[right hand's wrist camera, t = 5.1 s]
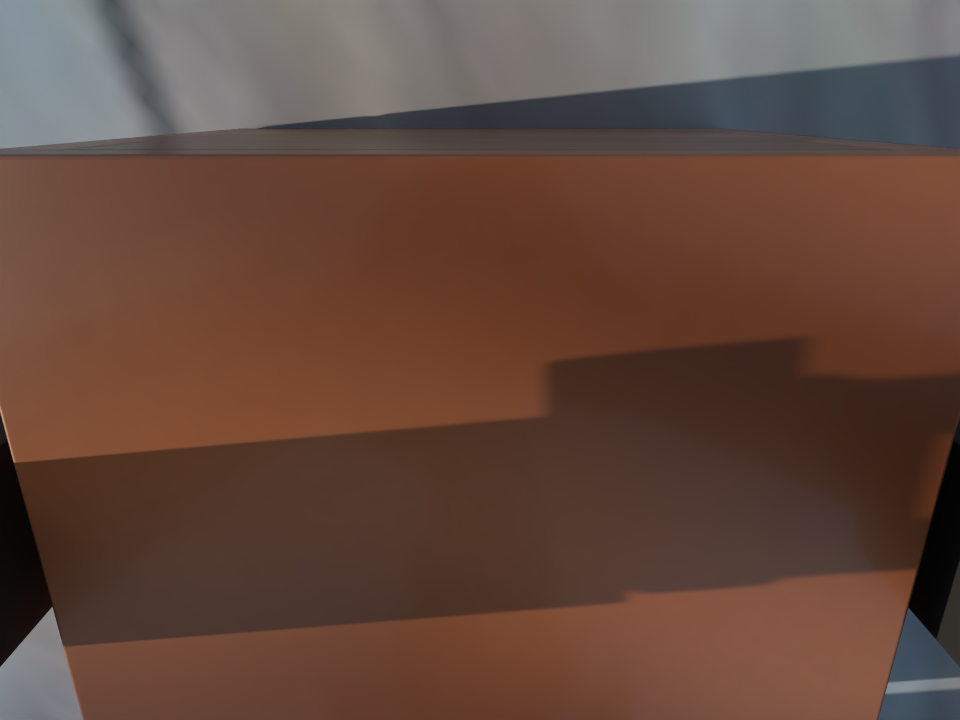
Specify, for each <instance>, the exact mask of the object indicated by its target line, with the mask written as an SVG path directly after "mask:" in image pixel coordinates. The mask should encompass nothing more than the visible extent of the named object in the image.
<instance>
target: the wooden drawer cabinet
mask: <svg viewBox="0 0 960 720" xmlns="http://www.w3.org/2000/svg"><path fill="white" fill-rule="evenodd" d="M0 413H1V417H2V421H3V424H4V428H5V432H6V436H7V439H8V443H9V447H10V450H11V454H12V458H13V461H14V465H15V469H16V473H17V476H18V480H19V484H20V487H21V491H22V495H23V499H24V502H25V506H26V510H27V513H28V517H29V521H30V525H31V528H32V532H33V536H34V539H35V543H36V547H37V551H38V554H39V558H40V562H41V565H42V569H43V573H44V577H45V580H46V584H47V588H48V591H49V595H50V599H51V602H52V606H53V610H54V614H55V617H56V621H57V625H58V628H59V632H60V636H61V640H62V643H63V647H64V651H65V654H66V658H67V662H68V666H69V669H70V673H71V677H72V680H73V684H74V688H75V692H76V695H77V699H78V703H79V706H80V710H81V714H82V718H83V720H878V718H879V714H880V710H881V707H882V703H883V699H884V695H885V692H886V688H887V684H888V681H889V677H890V673H891V669H892V666H893V662H894V658H895V655H896V651H897V647H898V644H899V640H900V636H901V632H902V629H903V625H904V621H905V618H906V614H907V610H908V607H909V603H910V599H911V595H912V592H913V588H914V584H915V581H916V577H917V573H918V570H919V566H920V562H921V558H922V555H923V551H924V547H925V544H926V540H927V536H928V533H929V529H930V525H931V521H932V518H933V514H934V510H935V507H936V503H937V499H938V495H939V492H940V488H941V484H942V481H943V477H944V473H945V470H946V466H947V462H948V458H949V455H950V451H951V447H952V444H953V440H954V436H955V433H956V429H957V425H958V421H959V418H960V149H958V148H946V147H934V146H922V145H910V144H898V143H886V142H874V141H862V140H850V139H838V138H826V137H814V136H803V135H791V134H779V133H767V132H755V131H743V130H729V129H232V130H219V131H207V132H195V133H183V134H171V135H159V136H147V137H135V138H124V139H112V140H100V141H88V142H76V143H64V144H52V145H40V146H29V147H17V148H5V149H0Z"/></svg>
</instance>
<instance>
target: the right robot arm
mask: <svg viewBox="0 0 960 720" xmlns="http://www.w3.org/2000/svg"><path fill="white" fill-rule="evenodd" d="M51 607H52V602H51V599H50V595H49V591H48V588H47V584H46V580H45V577H44V573H43V569H42V565H41V562H40V558H39V554H38V551H37V547H36V543H35V539H34V536H33V532H32V528H31V525H30V521H29V517H28V513H27V510H26V506H25V502H24V499H23V495H22V491H21V487H20V484H19V480H18V476H17V473H16V469H15V465H14V461H13V458H12V454H11V450H10V447H9V443H8V439H7V436H6V432H5V428H4V424H3V421H2V417H1V413H0V666H1V665H2V664H3V663H4V662H5V661H6V660H7V658H8V657H9V656H10V655H11V654H12V653H13V651H14V650H15V649H16V648H17V647H18V646H19V644H20V643H21V642H22V641H23V640H24V639H25V638H26V636H27V635H28V634H29V633H30V632H31V631H32V629H33V628H34V627H35V626H36V625H37V624H38V622H39V621H40V620H41V619H42V618H43V617H44V616H45V614H46V613H47V612H48V611H49V610H50V609H51ZM909 609H910V610H911V611H912V612H913V613H914V614H915V615H916V617H917V618H918V619H919V620H920V621H921V622H922V624H923V625H924V626H925V627H926V628H927V629H928V631H929V632H930V633H931V634H932V635H933V636H934V637H935V639H936V640H937V641H938V642H939V643H940V644H941V646H942V647H943V648H944V649H945V650H946V651H947V653H948V654H949V655H950V656H951V657H952V658H953V659H954V661H955V662H956V663H957V664H958V665H959V666H960V418H959V421H958V425H957V429H956V433H955V436H954V440H953V444H952V447H951V451H950V455H949V458H948V462H947V466H946V470H945V473H944V477H943V481H942V484H941V488H940V492H939V495H938V499H937V503H936V507H935V510H934V514H933V518H932V521H931V525H930V529H929V533H928V536H927V540H926V544H925V547H924V551H923V555H922V558H921V562H920V566H919V570H918V573H917V577H916V581H915V584H914V588H913V592H912V595H911V599H910V603H909Z"/></svg>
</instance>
